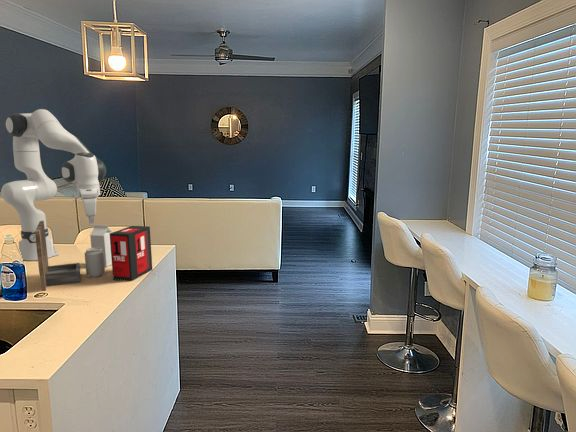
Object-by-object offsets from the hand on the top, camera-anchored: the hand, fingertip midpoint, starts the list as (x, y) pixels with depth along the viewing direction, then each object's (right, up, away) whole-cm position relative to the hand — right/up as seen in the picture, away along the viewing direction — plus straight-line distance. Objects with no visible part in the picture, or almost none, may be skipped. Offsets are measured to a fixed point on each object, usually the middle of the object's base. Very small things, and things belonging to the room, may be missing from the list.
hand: (91, 223), depth 196 cm
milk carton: (-3, -20, +20) cm, 28 cm away
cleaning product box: (+16, -23, +5) cm, 28 cm away
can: (0, -23, +4) cm, 23 cm away
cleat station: (-11, -24, -2) cm, 26 cm away
